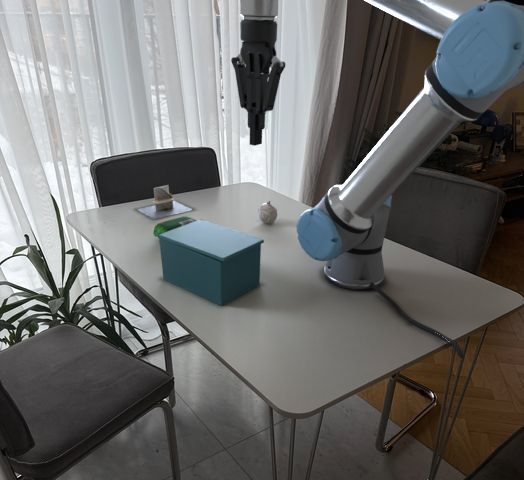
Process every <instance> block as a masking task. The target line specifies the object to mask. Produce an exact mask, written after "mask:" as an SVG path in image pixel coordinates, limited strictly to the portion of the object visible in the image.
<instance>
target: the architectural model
mask: <svg viewBox="0 0 524 480" xmlns="http://www.w3.org/2000/svg"><path fill="white" fill-rule="evenodd" d="M153 194H154V195H153V196H154V199H153V200H151V202H152V203H154V205H151V206H150V205H149V206H145V207H142V208H137V209H136V211H138V212H139V213H141V214H144V215H145V216H147V217H149V218H151V219H153V220H158V219H162V218H166V217H169V216H174V215H178V214H183V213H186V212H190V211H193V209H192V208H190V207H188V206H186V205H184V204H182V203H180V202H178V201H176V199H175V198H174V196H173V194H172V193H170V187H169V184H166V185H162V186H156V187H153Z"/></svg>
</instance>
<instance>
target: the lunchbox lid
mask: <svg viewBox="0 0 524 480" xmlns="http://www.w3.org/2000/svg"><path fill="white" fill-rule="evenodd" d="M159 238H162V239H164V240H167V241H170V242H172V243H175V244H178V245H180V246H183V247H186V248H188V249H191V250H194V251H197V252H199V253H202V254H205V255H207V256H210V257H213V258H215V259H218V260H221V261H225V260H227V259H230V258H232V257H234V256H236V255H238V254H240V253H242V252H245V251H247V250H249V249H251V248H253V247H255V246H257V245H260V244H261V245H262V244H264V242H265V239H264V238H261V237H257V236H254V235H251V234H248V233H246V232H242V231H240V230H236V229H233V228H229V227H227V226H223V225H220V224H217V223H214V222H211V221H208V220H205V219H202V218H200V219H198V220H197V221H195V222H192V223H190V224H187V225H184V226H181V227H179V228H176V229H173V230H170V231H168V232H165V233H162V234H159ZM159 238H158V239H159Z"/></svg>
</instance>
